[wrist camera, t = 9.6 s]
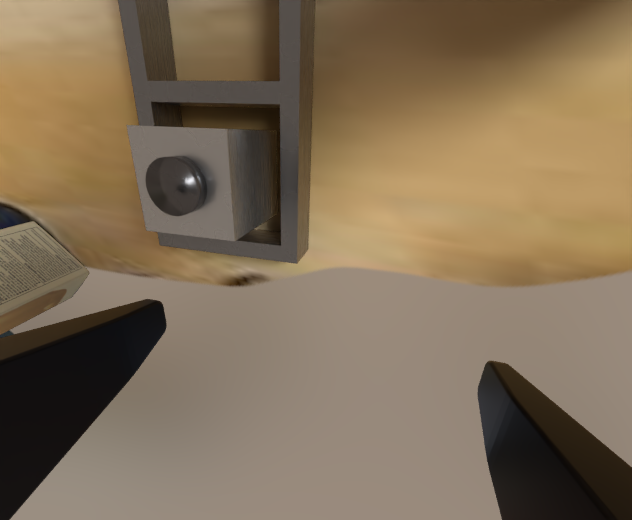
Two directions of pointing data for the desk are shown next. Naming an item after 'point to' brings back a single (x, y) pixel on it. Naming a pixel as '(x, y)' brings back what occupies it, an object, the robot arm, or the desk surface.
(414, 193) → the desk surface
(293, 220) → the two-cubby grey shelf
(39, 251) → the skincare box
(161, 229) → the knobbed drawer box
